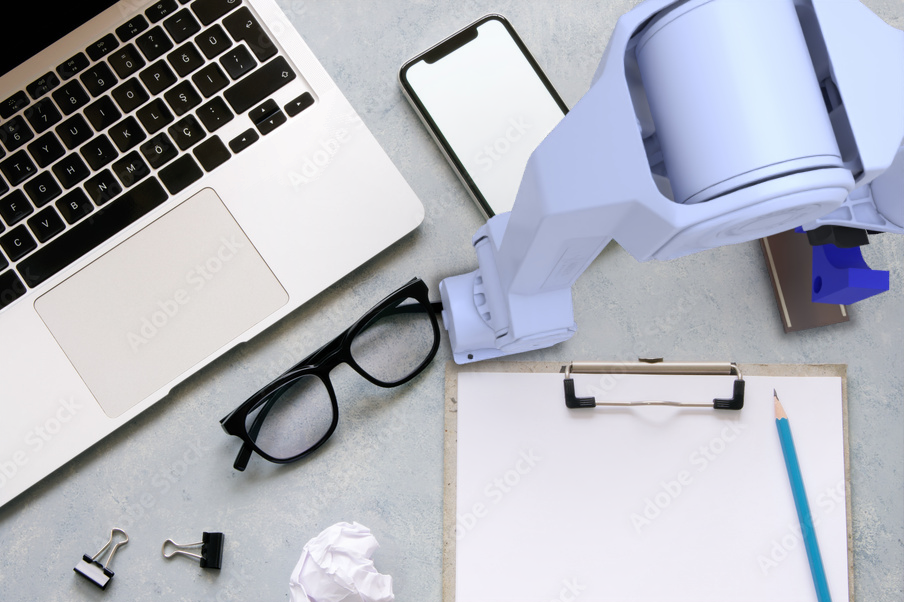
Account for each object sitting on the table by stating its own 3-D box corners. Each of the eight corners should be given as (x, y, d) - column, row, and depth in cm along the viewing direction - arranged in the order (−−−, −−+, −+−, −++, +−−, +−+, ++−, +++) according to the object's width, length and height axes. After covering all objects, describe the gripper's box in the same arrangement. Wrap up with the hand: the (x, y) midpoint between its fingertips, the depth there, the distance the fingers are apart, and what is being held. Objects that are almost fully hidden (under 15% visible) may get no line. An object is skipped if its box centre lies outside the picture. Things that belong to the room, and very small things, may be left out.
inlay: (785, 333, 69) (787, 332, 69) (745, 190, 71) (747, 189, 71) (848, 320, 69) (850, 320, 69) (806, 178, 72) (809, 177, 71)
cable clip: (796, 166, 65) (830, 137, 59) (850, 169, 65) (889, 141, 59) (793, 300, 64) (828, 285, 58) (848, 305, 63) (889, 290, 57)
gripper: (1044, 90, 50) (910, 166, 63) (831, 132, 50) (742, 199, 63) (1079, 191, 49) (935, 246, 62) (861, 234, 48) (764, 280, 62)
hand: (839, 228), depth 62 cm, fingers closed on cable clip, 4 cm apart
